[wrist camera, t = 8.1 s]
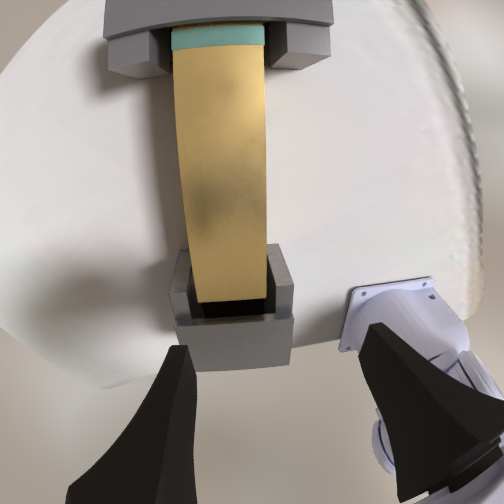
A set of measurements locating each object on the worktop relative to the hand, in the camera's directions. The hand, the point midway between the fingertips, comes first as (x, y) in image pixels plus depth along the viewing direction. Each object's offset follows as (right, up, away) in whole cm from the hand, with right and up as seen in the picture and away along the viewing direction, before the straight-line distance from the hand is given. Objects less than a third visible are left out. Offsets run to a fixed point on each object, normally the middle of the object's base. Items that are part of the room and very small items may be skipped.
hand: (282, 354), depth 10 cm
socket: (-3, +17, +3) cm, 17 cm away
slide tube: (-3, +10, +6) cm, 12 cm away
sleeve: (-3, +1, +11) cm, 11 cm away
